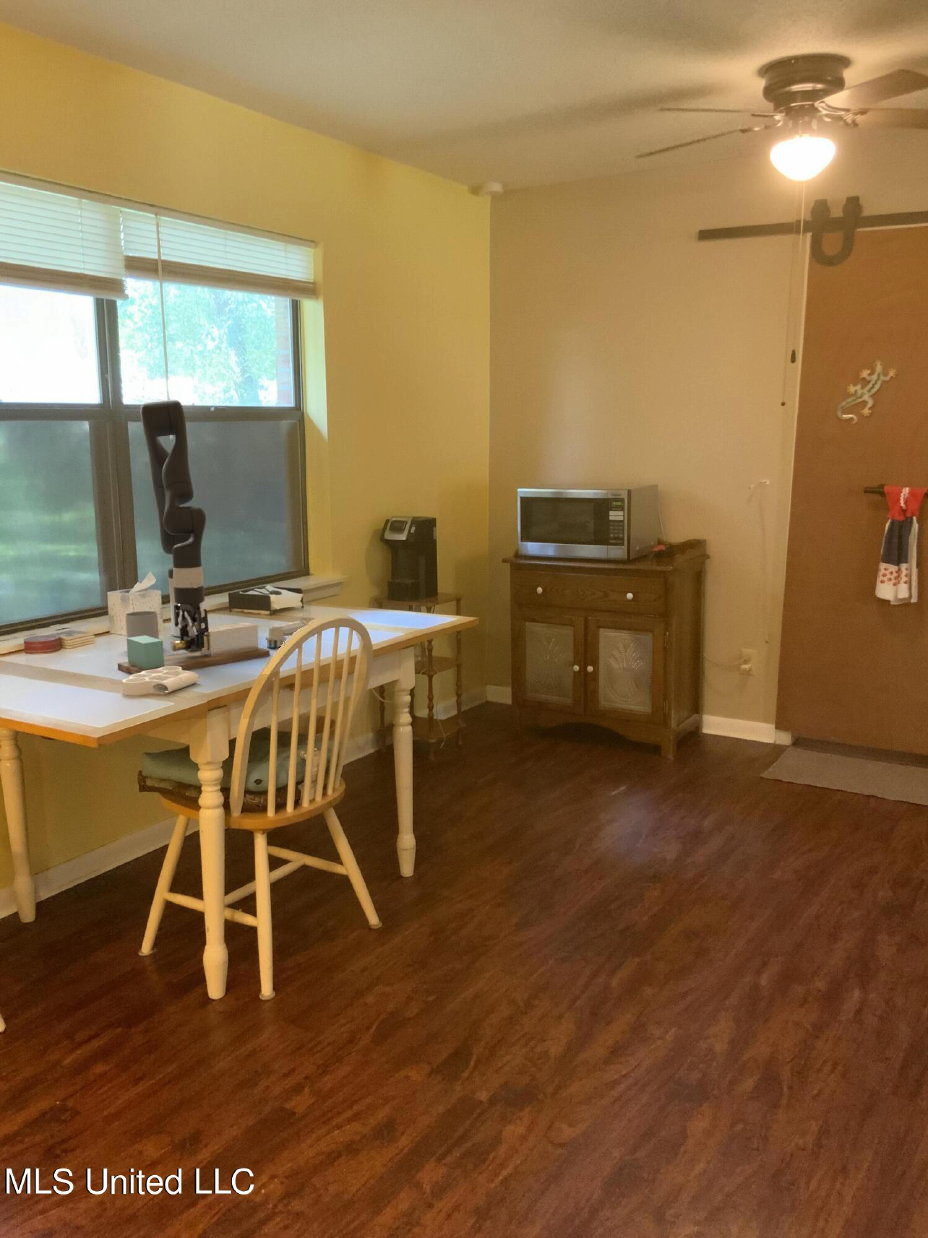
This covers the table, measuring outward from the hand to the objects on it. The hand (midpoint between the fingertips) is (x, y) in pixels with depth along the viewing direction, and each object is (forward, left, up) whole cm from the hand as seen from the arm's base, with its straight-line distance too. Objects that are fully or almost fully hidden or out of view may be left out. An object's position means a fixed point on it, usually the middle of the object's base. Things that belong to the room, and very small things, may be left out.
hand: (192, 646), depth 268 cm
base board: (0, +1, -4) cm, 4 cm away
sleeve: (0, +11, -3) cm, 11 cm away
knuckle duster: (+19, -18, -5) cm, 27 cm away
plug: (0, +6, -1) cm, 6 cm away
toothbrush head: (-8, +34, -5) cm, 35 cm away
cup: (-27, -1, -5) cm, 27 cm away
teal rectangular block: (0, -13, -3) cm, 13 cm away
